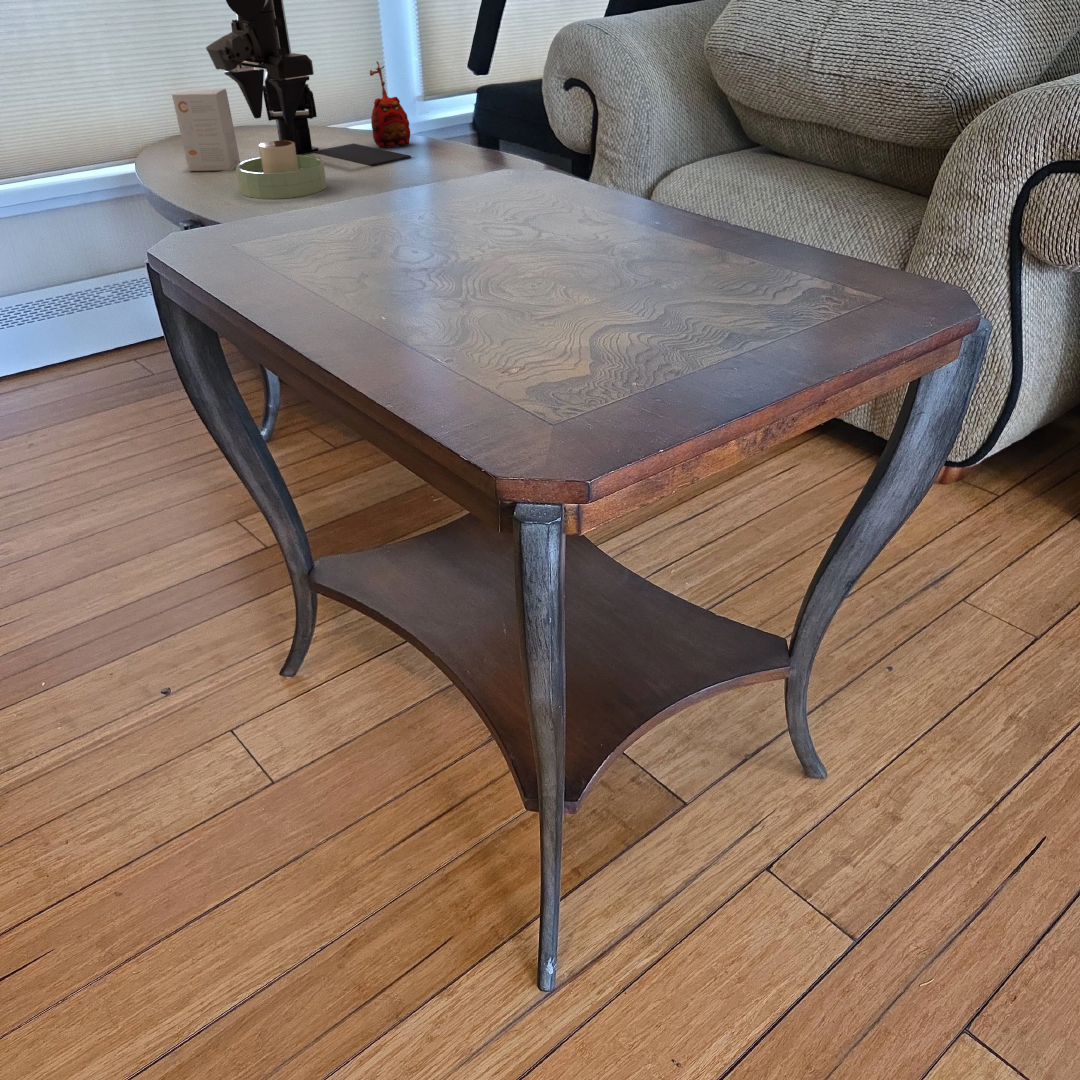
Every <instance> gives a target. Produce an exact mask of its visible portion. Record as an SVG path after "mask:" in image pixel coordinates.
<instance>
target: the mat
mask: <svg viewBox="0 0 1080 1080" xmlns="http://www.w3.org/2000/svg"><path fill="white" fill-rule="evenodd" d="M311 154H317V155H321V156H324V157H325V156H326V157H329V158H334V159H338V160H343V161H345V162H346V161H347V162H351V163H356V164H359V165H364V166H367V167H368V166H369V167H376V166H379V165H384V164H389V163H393V162H398V161H402V160H407V159H412V156H411V155H410V154H409V155H408V154H405V153H400V152H396V151H392V150H386V149H383V148H377V147H372V146H367V145H363V144H357V143H349V144H344V145H338V146H334V147H329V148H322V149H319V150H318V151H313V152H308V153H303V154H298V155H311Z"/></svg>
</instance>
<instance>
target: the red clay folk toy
mask: <svg viewBox="0 0 1080 1080" xmlns="http://www.w3.org/2000/svg"><path fill="white" fill-rule="evenodd" d="M376 64H377V67H376V68H375V70H372V69H370V70H369V76H374V75H375V74H378V75H379V79H380V84H381V87H382V88H381V89H382V90H381V91H382V92H381V93H382V97H381V98H379V97H377V98H375V99H374V102H373V108H372V111H371V115H370V116H371V117H370V120H371V121H370V122H371V129H372V138H373V141H374V143H375V145H376V146H378V147H379V148H381V149H383V148H389V147H390V148H392V147H406V146H408V145H410V139H411V128H410V121H409V119H408V114H407V112H405V110H404V108H403V105H401V101H400V99H399V98H398V96H392V97H390V96H389V97H388V94H387V91H386V89H385V84H386V83H385V81H384V80H383V73H382V70H383V69H384V68H385V66H384V65H383V66H382V67H381V66H380V63H379V60H378V61H376Z"/></svg>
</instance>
